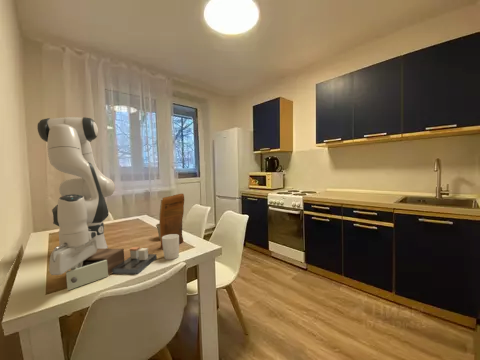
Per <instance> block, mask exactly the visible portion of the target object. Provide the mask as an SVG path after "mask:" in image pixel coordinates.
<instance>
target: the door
mask: <svg viewBox="0 0 480 360" xmlns="http://www.w3.org/2000/svg"><path fill="white" fill-rule="evenodd" d="M65 277H66V289H67V291H69V290H73V289H75V288H78V287H81V286H85V285H88V284H89V283H93V282H95V281H99V280H101V279H105V278H107V277H109V275H108V266H107V260H103V261H100V262H97V263H93V264H90V265H87V266H83V267H80V268H77V269H73V270H71V269H69V270H68V271H66V272H65Z"/></svg>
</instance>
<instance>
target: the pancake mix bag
mask: <svg viewBox="0 0 480 360" xmlns="http://www.w3.org/2000/svg"><path fill="white" fill-rule="evenodd" d="M184 207H185V194H184V193H183V192H182V193H178V194H173V195H168V196H164V197H162V199H161V200H160V209H159V223H158V224H160V239H159V240H160V250H163V245H162V237H163V236H165V235H169V234H178V235H179V245H180V244H182V243H184V236H183V218H184V214H185V211H184V210H185V208H184Z"/></svg>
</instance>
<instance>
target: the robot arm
mask: <svg viewBox="0 0 480 360" xmlns="http://www.w3.org/2000/svg"><path fill="white" fill-rule="evenodd" d="M37 133H38V135H39V137H40V138H41V140H43V141H44V142H47V156H48V160H49V163H50V165H51V166H52V167H53V168H54V169H56V170H58V171H59V172H62V173H65V174H68V175H73V176H75V177H78V178H70V179H65V180H63V181H62V182H61V183H60V185H59V186H58V191H59V195H60V197H59V198H58V201H57V205H55V206H54V207H53V208H52V209H51V212H52V218H53V222H52V223H53V225H56V226H58V227H59V230H58V241H59V242H58V243H59V245H58V246H55V247H54V248H53V250H52V252H51V253H50V257H49V266H48V270H49V271H48V272H49V274H50V275H51V276H60V275H63V274H66V272H67V271H70V270H73V269H77V268H80V267H82V265H83V261H84V260H86V259H87V258H89V257H90V256H92V255H94V254H95V253H96V251H97V249H109V248H108V245H107V241H106V238H105V237H106V236H105V226H104V225H105V223H104V221H105V220H106V219H107V218H108V217H109V213H110V210H109V206H108V203H107V202H106V200H105V198H107V197H108V198H109V197H111V196H112V195H113V194H114V193H115V190H116V185H115V183H114V181H113V180H112V179H111V178H110V177H108V176H105V174H103V172H101V171H100V169H99V168H98V166H97V164H96V161H95V155H94V151H93V148H92V145H91V142H92V141H95V139H97V138H98V133H99V128H98V125H97V123H96V122H95V120H94V119H92V118H90V117H86V116H85V117H77V116H65V117H53V118H50V117H49V118H43V119H40V120H39V122H38V123H37Z"/></svg>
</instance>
